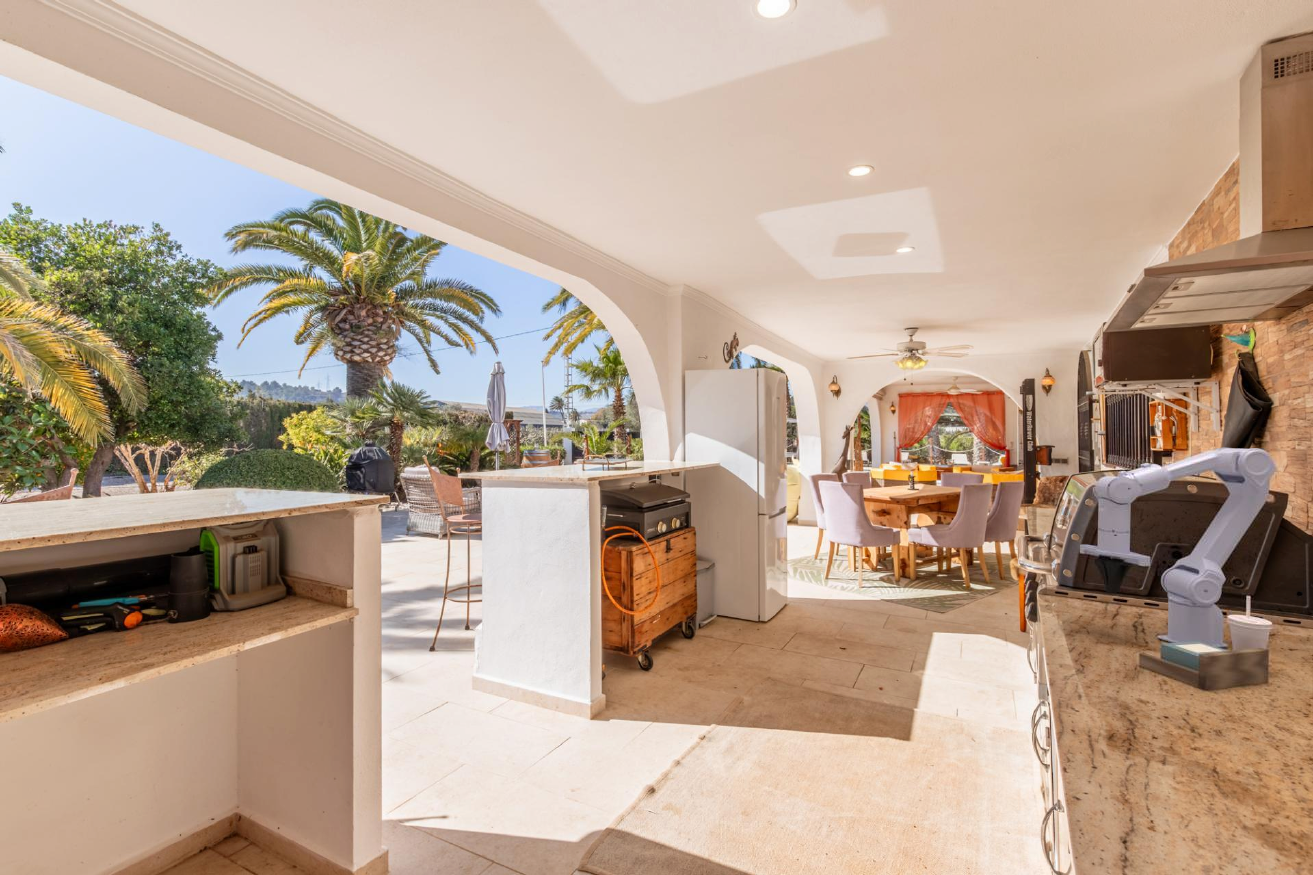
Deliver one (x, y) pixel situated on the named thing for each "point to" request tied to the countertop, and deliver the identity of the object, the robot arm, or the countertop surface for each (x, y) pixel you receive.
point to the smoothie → (1248, 630)
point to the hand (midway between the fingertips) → (1112, 592)
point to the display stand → (1216, 669)
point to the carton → (1187, 653)
